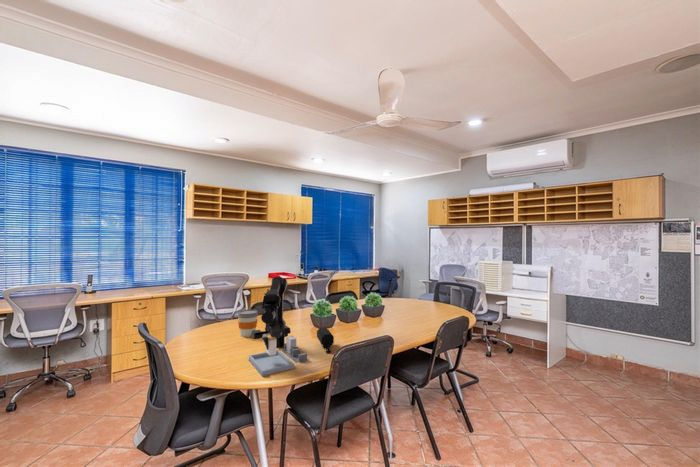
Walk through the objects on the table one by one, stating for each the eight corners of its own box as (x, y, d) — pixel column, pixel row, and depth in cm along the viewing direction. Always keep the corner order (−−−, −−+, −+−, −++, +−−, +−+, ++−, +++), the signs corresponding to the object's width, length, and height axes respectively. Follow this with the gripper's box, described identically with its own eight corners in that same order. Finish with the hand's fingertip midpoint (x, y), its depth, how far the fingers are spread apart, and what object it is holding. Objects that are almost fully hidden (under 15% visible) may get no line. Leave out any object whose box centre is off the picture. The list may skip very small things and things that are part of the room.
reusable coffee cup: (260, 332, 217) (260, 309, 217) (253, 338, 204) (253, 314, 204) (242, 331, 218) (242, 309, 218) (234, 337, 206) (234, 313, 206)
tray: (248, 360, 169) (248, 355, 169) (278, 354, 177) (278, 349, 177) (262, 376, 149) (262, 371, 149) (294, 369, 158) (294, 364, 158)
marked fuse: (265, 351, 165) (266, 336, 165) (272, 350, 167) (272, 335, 167) (269, 355, 160) (269, 339, 160) (276, 354, 162) (276, 338, 162)
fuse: (286, 350, 181) (286, 336, 181) (291, 349, 183) (292, 335, 183) (290, 354, 176) (290, 339, 176) (296, 353, 178) (296, 338, 178)
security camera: (322, 354, 177) (322, 336, 177) (316, 343, 195) (316, 327, 195) (334, 353, 179) (335, 335, 179) (327, 343, 197) (327, 326, 197)
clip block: (281, 351, 182) (281, 344, 182) (294, 348, 186) (294, 341, 186) (295, 364, 164) (295, 356, 164) (310, 361, 168) (310, 353, 168)
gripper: (257, 324, 152) (257, 357, 152) (294, 319, 162) (294, 350, 162) (251, 319, 161) (250, 350, 161) (286, 314, 171) (286, 344, 171)
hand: (271, 349), depth 163 cm, fingers closed on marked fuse, 3 cm apart
